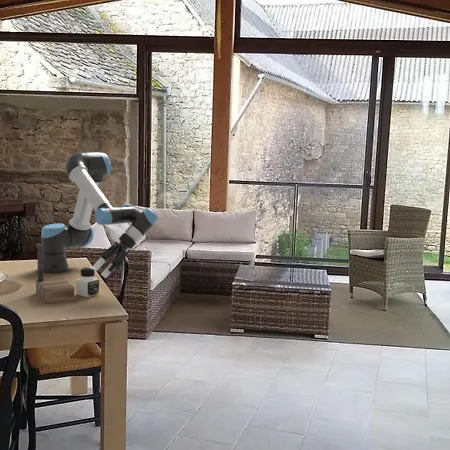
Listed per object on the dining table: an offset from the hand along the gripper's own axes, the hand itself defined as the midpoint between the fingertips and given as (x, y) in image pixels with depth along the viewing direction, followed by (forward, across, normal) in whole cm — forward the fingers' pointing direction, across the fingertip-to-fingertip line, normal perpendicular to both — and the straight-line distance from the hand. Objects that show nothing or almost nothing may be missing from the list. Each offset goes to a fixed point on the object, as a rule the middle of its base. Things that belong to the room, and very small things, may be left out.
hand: (98, 273), depth 273 cm
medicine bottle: (+10, +1, -4) cm, 11 cm away
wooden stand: (+20, +2, +6) cm, 21 cm away
